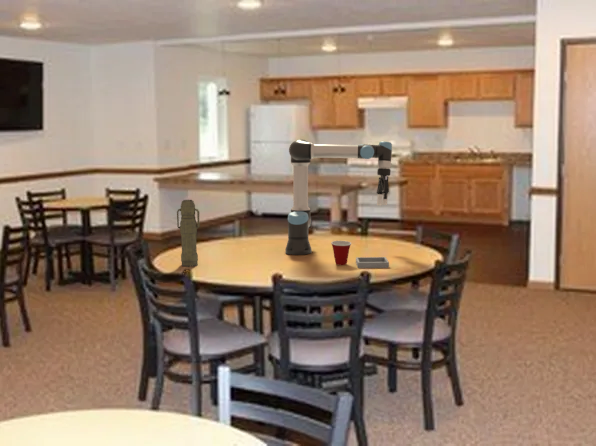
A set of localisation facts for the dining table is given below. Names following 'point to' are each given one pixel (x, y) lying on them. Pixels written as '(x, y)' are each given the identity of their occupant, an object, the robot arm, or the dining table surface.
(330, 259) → the dining table surface
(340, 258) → the plastic cup
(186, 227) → the thermos
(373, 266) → the tray
